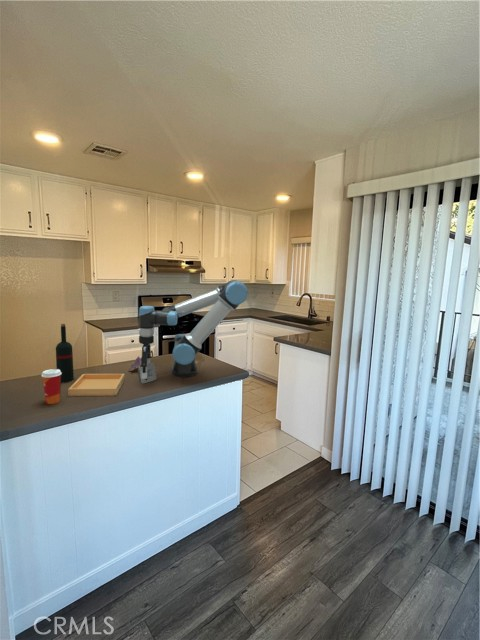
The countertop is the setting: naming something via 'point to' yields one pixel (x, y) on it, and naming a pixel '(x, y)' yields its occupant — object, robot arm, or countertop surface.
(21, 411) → the countertop surface
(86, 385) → the wooden tray
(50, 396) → the paper cup
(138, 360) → the lily
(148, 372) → the electrical switch
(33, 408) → the countertop surface
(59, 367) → the wine bottle
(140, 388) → the countertop surface
